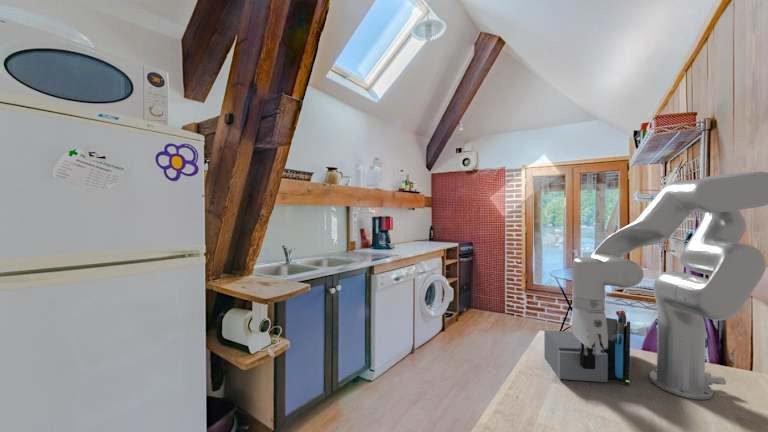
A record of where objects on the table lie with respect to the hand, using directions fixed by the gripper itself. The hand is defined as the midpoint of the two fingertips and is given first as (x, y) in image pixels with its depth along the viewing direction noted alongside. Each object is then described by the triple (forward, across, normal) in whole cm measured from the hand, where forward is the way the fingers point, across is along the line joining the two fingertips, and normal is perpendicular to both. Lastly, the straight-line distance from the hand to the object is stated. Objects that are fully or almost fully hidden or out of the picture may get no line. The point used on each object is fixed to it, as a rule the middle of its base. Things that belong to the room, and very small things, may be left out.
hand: (587, 367), depth 86 cm
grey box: (+6, +9, 0) cm, 11 cm away
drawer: (+5, +9, 0) cm, 10 cm away
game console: (+6, +12, -14) cm, 19 cm away
